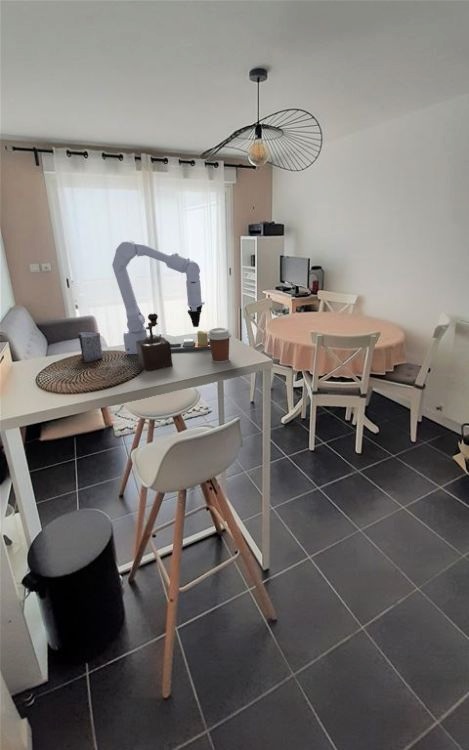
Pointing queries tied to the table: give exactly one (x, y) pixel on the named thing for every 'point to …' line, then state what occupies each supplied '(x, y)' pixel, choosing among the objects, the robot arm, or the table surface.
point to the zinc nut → (189, 342)
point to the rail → (182, 349)
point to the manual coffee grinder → (154, 349)
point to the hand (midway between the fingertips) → (196, 324)
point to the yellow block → (202, 338)
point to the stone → (90, 346)
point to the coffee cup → (219, 344)
